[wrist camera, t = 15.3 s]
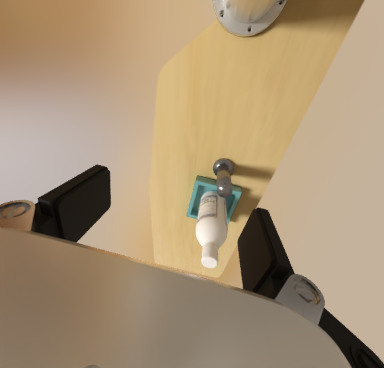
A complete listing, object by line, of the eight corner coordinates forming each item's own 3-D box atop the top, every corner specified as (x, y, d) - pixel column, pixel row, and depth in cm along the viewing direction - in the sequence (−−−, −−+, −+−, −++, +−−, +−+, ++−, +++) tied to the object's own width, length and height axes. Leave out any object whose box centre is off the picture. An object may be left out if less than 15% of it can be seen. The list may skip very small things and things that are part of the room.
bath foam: (195, 201, 48) (182, 262, 31) (211, 185, 45) (206, 242, 28) (214, 214, 49) (212, 280, 32) (230, 199, 46) (238, 263, 29)
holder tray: (197, 175, 45) (195, 180, 43) (240, 186, 45) (241, 192, 43) (188, 209, 51) (186, 216, 49) (226, 220, 51) (226, 227, 48)
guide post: (226, 154, 42) (229, 174, 31) (236, 170, 43) (242, 194, 33) (209, 165, 44) (206, 187, 33) (219, 179, 45) (220, 205, 35)
